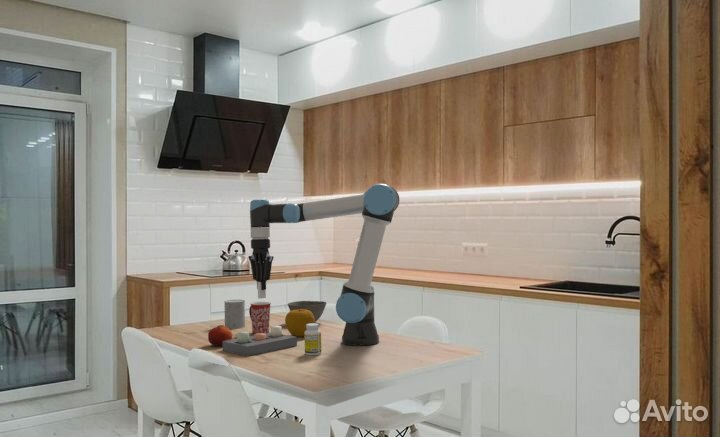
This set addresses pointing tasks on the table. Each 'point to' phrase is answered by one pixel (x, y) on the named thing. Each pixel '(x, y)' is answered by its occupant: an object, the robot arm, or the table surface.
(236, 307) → the grey stone cylinder
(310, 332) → the pill bottle
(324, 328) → the table surface
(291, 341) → the panel
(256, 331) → the mug
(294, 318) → the apple
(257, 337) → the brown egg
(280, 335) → the button cream
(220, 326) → the tomato
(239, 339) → the button sage
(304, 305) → the bowl
